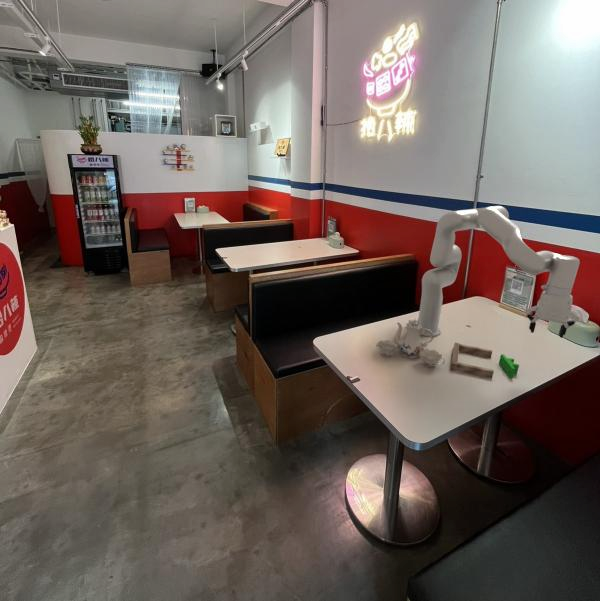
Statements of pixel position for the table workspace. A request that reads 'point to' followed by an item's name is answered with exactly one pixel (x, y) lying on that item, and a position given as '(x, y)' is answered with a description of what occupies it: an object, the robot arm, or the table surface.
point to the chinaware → (410, 345)
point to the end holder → (470, 368)
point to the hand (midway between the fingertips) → (545, 333)
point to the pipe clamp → (508, 366)
